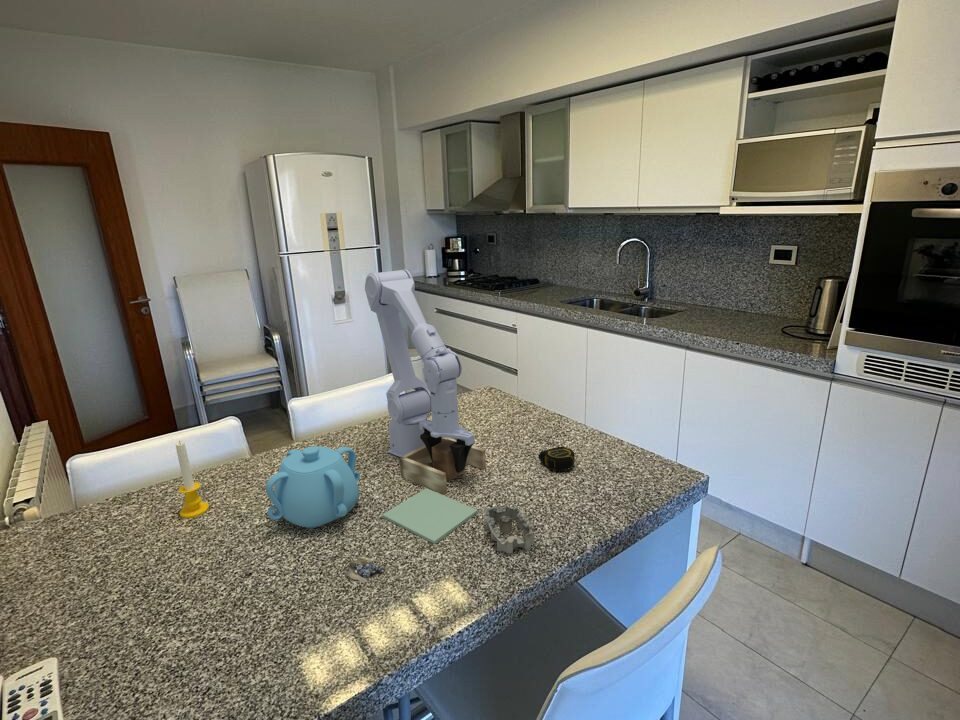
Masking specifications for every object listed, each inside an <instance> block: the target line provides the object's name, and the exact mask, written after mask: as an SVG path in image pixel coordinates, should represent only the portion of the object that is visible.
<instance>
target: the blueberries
mask: <svg viewBox="0 0 960 720" xmlns="http://www.w3.org/2000/svg"><path fill="white" fill-rule="evenodd" d="M381 560H382V559H379V560H378V559H377V556H375V557H372V556H370V555H368V554H367V555H362V556H360V557H359V558H357V559H354V560H351V561H350V562H349V563H348V566H347V569H348V571H346V572H345V574H344V575H345V577H348V578H350V579H352V580H354V581H358V583H360V582H366V581H367V580H368V579H372V578H375V577H376V576H381V575H383V574H384V573H385V572H386V571H387V568H386V567H381V566H380V565H379V564H378V563H374V562H378V561H379V562H380V561H381Z"/></svg>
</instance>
